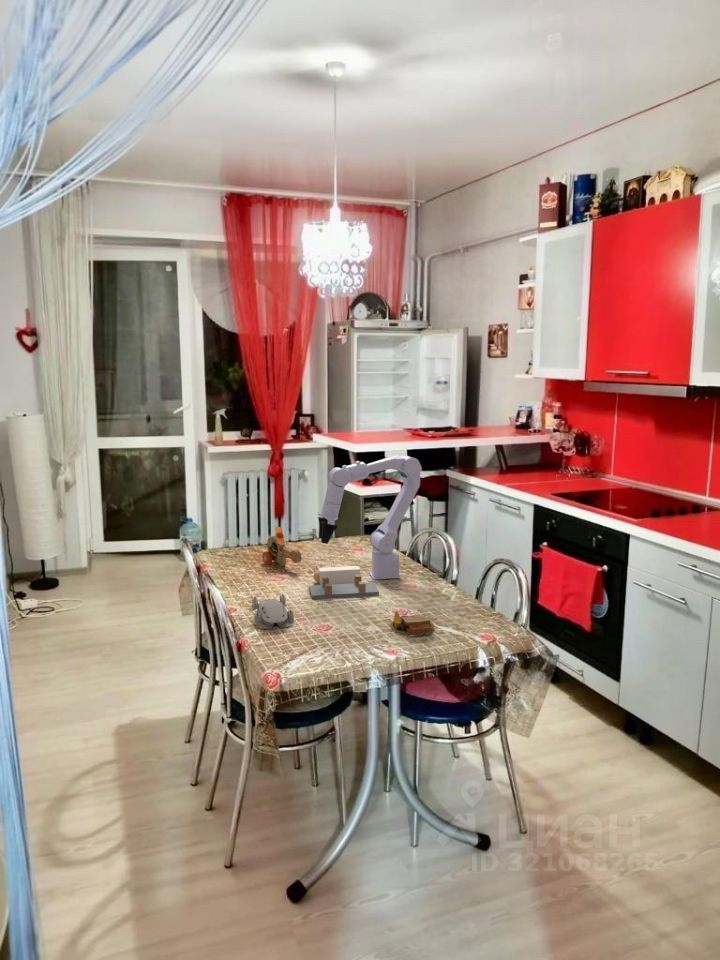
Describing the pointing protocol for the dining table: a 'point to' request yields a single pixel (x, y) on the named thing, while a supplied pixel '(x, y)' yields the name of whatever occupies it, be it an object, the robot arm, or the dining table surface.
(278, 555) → the toy helicopter
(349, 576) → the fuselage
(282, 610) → the car model
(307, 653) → the dining table surface
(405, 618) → the toy sandwich meal
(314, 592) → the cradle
